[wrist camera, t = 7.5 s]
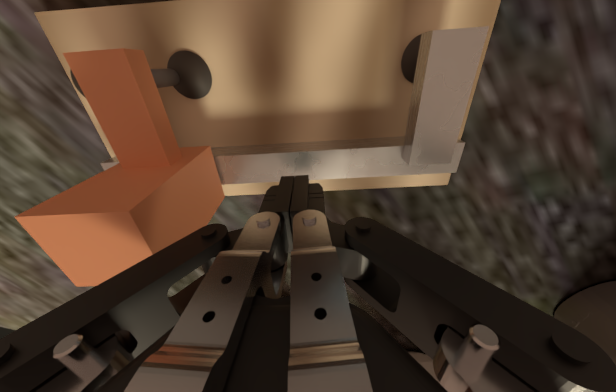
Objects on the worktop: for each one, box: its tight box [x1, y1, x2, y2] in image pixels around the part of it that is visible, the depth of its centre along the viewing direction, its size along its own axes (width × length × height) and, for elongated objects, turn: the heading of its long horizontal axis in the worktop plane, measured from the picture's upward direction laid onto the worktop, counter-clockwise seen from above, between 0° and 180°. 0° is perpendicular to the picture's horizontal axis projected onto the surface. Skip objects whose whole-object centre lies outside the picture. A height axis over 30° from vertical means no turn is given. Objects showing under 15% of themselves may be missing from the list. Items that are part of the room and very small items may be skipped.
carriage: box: [15, 48, 225, 287], centre depth 11 cm, size 4×8×9 cm, turn 4°
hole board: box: [34, 0, 501, 196], centre depth 15 cm, size 25×12×1 cm, turn 94°
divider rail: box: [101, 26, 489, 185], centre depth 13 cm, size 23×8×3 cm, turn 94°
